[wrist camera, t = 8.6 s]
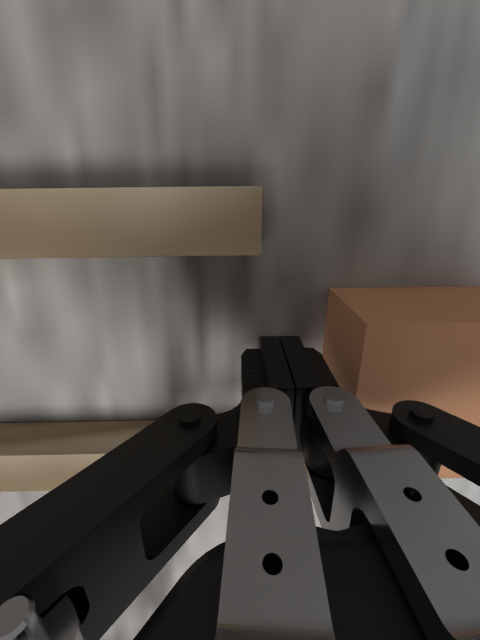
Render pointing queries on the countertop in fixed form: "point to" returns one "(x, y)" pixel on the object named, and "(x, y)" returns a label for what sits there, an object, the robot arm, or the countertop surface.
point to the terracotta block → (407, 348)
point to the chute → (110, 241)
